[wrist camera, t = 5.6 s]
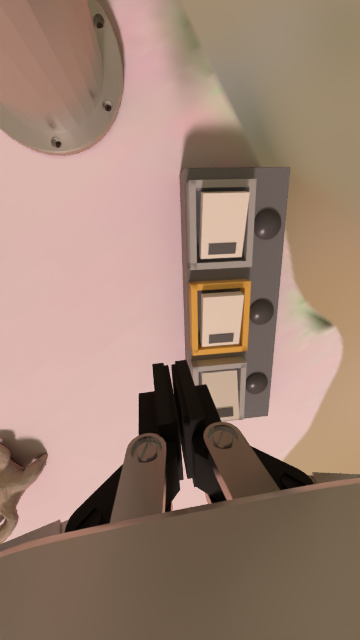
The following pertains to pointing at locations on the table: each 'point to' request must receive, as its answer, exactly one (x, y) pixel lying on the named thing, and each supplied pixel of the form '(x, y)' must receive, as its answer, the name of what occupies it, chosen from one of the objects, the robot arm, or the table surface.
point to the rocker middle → (221, 318)
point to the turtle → (14, 488)
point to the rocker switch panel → (237, 277)
